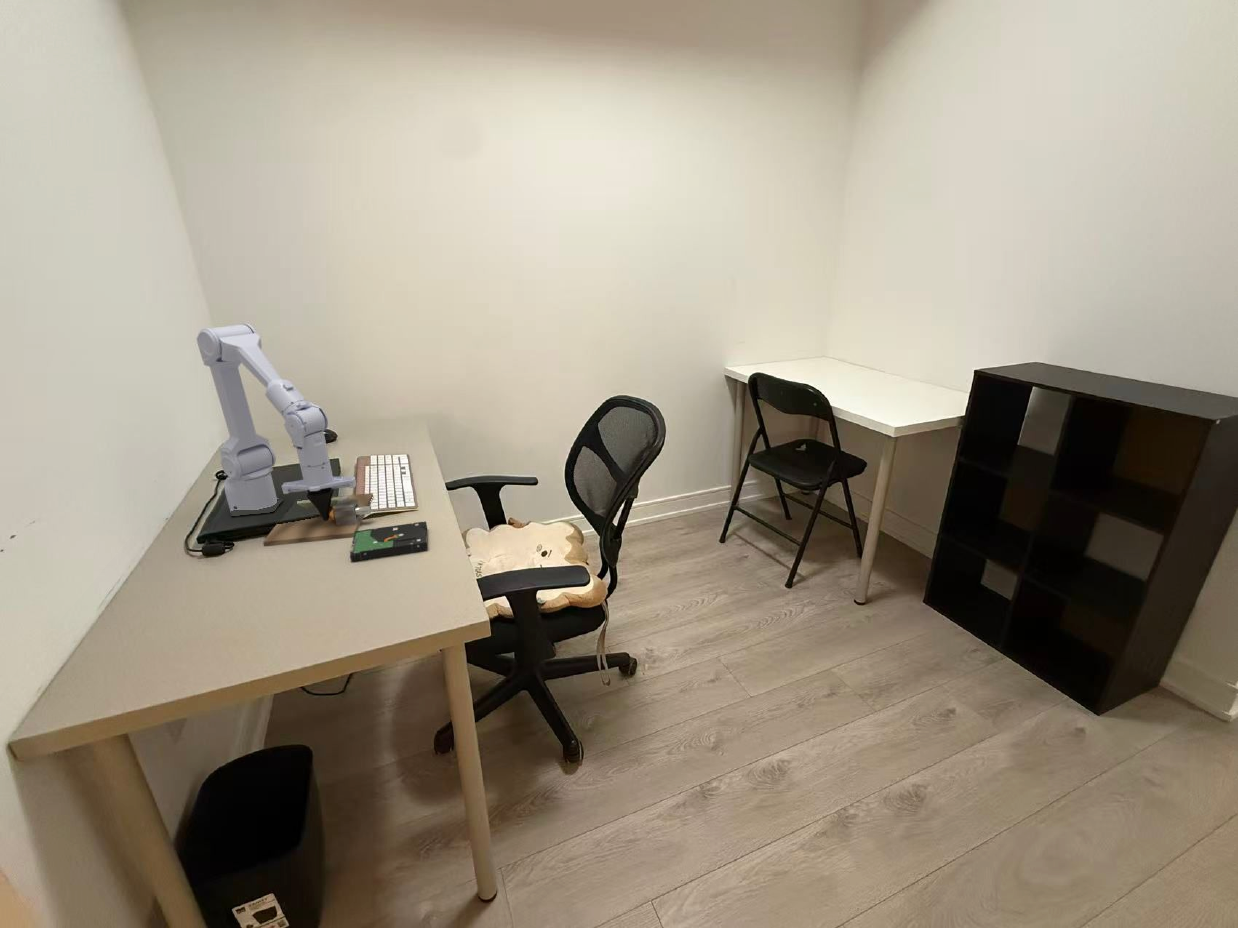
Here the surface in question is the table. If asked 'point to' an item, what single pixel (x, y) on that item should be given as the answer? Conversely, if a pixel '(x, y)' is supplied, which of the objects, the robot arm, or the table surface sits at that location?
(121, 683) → the table surface
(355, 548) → the disk drive
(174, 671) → the table surface
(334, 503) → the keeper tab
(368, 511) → the pin
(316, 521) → the board
